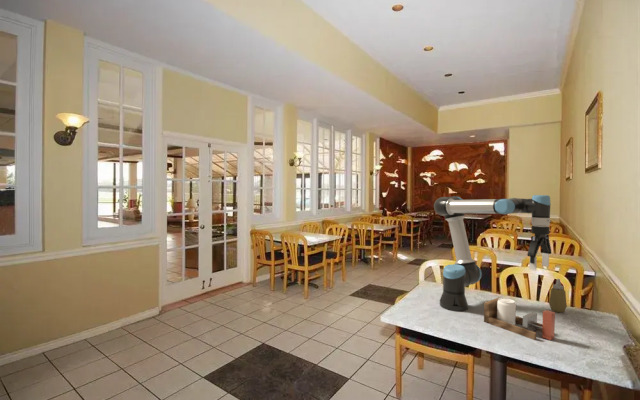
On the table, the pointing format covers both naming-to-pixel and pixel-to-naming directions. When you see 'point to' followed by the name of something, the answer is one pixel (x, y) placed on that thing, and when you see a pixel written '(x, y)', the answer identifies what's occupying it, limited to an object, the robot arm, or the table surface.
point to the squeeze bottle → (558, 298)
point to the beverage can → (506, 310)
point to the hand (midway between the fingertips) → (539, 268)
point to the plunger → (546, 328)
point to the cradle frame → (491, 318)
